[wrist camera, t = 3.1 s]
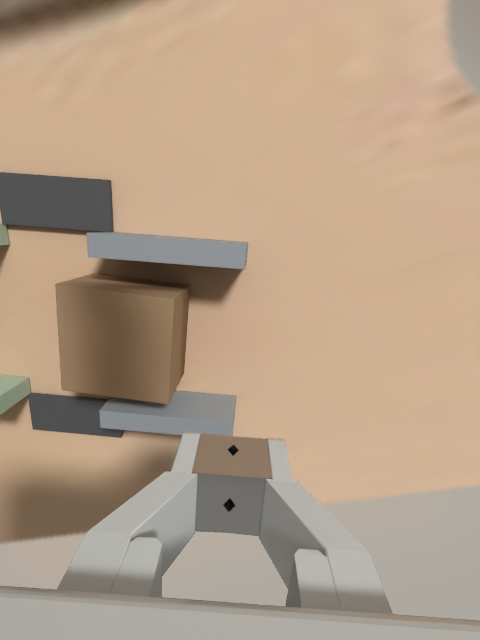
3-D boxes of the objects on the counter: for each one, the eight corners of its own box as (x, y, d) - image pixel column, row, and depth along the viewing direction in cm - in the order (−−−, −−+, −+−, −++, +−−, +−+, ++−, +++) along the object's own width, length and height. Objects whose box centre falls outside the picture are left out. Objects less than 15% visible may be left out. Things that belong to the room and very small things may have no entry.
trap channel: (251, 190, 17) (251, 182, 14) (232, 444, 22) (228, 477, 19) (-144, 162, 17) (-223, 149, 15) (-77, 415, 22) (-125, 443, 20)
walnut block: (190, 285, 19) (174, 299, 15) (184, 371, 21) (168, 404, 17) (95, 273, 19) (55, 284, 15) (97, 360, 21) (61, 390, 17)
